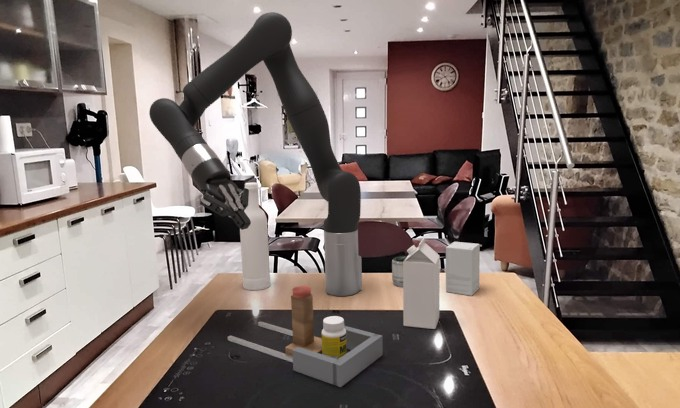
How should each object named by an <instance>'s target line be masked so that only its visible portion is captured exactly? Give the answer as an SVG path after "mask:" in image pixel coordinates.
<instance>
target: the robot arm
mask: <svg viewBox="0 0 680 408" xmlns="http://www.w3.org/2000/svg"><path fill="white" fill-rule="evenodd" d="M292 36H293V30H292V25H291V23H290V21H289V19H288V18H287V17H285V16H284V15H283V14H281V13H278V12H271V11H270V12H266V13H263V14H261V15H260V16H259V17H258V18H257V19H256V20H255V22H254V24H253V26H251V28H250V29H249V31H248V32H247V33H246V34H244V36H243V37H242V38H241V39H240V40H239V41H238V42H237V43H235V45H234V46H233V47H232V48H230V49H229V50H227V52H225V53H224V54H223V55H222V56H221V57H219V58H218V59H216V61H214V62H212V63H211V64H210V65H208V66H207V67H206V68H205V69H203V70H202V71H200V72H199V73H198V74H197V75H196V76H195V77H194V78H192V79H191V80H190V81H189V82H188V83H186V84H185V85H184V87H183V88H182V93H183V96H184V99H183V100H182V102H180V105H179V104H178V103H177V102H176V101H174V100H172V99H170V98H166V97H163V98H162V97H161V98H158V99H156V100H155V101H153V102H152V103H151V104H150V107H149V113H148V114H149V118H150V120H151V122H152V124H153V126H154V128H156V130H157V131H158V132H159V133H160V134H161V135H162V137H163V138H164V139H165V140H166V141H167V142H168V143H169V144H170V146H171V147H172V148H173V150H174V152H175V154H176V155H177V157H178V159H180V162H181V163H182V165H183V166H184V168H185V170H186V172H187V174H188V175H189V176H190V177H191V179H192V181H193V183H195V186H196V187H197V188H198V189H199V191H200V192H201V193H202V194H203V197H202V199H200V202H199V204H200V205H201V206H202V207H205V208H206V209H208V210H210V211H212V212H213V213H215V214H217V215H219V216H221V217H223V218H224V217H227V216H228V218H231V219H232V220H233V222H234V223H235V225H236V227H238V228H239V230H240V229H241V230H243V229H247V228H248V227H249V226H250V224H251V221H250V219H249V218H248V216H247V215H246V213H245V212H244V210H245V209H246V207H247V206H248V200H249V190H248V189H247V188H245V187H244V189H242V188H239V187H238V186H237V184H236V183H234V181H232V179H231V173H230V171H228V168H227V167H226V166H225V165H224V163H223V162H222V160H221V159H220V157H219V156H218V155H217V153H216V152H215V151H214V150H213V149H212V148H211V147H210V146H209V144H208V143H207V141H206V140H205V138H204V137H203V136H202V135H201V134H200V132H198V131H197V130H196V128H194V127H195V125H196V124H197V123H198V122H199V120H200V118H201V117H202V115H203V114H204V113H205V111H206V110H207V109H208V108H209V107H210V106H211V105H212V104H214V103H215V102H216V101H217V100H218V99H220V98H221V97H222V96H224V94H226V93H228V91H229V90H230V89H231V88H232V87H233V86H235V84H236V83H238V81H239V80H241V79H242V77H244V76H245V74H247V73H248V72H250V70H252V69H253V68H254V67H255V66H256V65H258V64H260V63H261V62H262V61H263V63H264V65H265V68H267V70H268V72H269V74H270V76H271V79H272V81H273V82H274V87H275V88H276V91H277V95H278V98H279V99H280V102H281V105H282V108H283V111H284V113H285V115H286V117H287V120H288V121H289V123H290V126H291V128H292V131H293V132H294V134H295V136H296V139H297V140H298V141H297V142H299V144H300V147H301V149H302V151H303V153H304V154H305V156H306V159H307V160H308V163H309V165H310V168H311V170H312V174H313V178H314V180H315V183H316V187H317V189H318V191H319V194H320V196H321V197H322V198H323V200H325V201H326V202H327V211H328V212H327V216H326V218H325V219H324V220H323V242H324V245H323V246H324V271H325V272H324V273H325V276H324V277H325V292H326V293H327V294H328V295H331V296H337V297H345V296H347V297H348V296H352V295H356V294H357V293H359V292H360V291H362V290H363V275H362V274H363V272H362V263H363V262H362V256H361V255H359V230H358V229H359V222H360V218H361V207H362V206H361V205H362V203H361V202H362V201H361V200H362V199H361V197H362V193H361V191H362V189H361V183H360V181H359V179H358V177H357V176H356V175H355V174H353V173H351V172H349V171H346V170H343V169H342V167H341V166H340V164H339V161H338V160H337V158H336V156H335V153H334V151H333V148H332V142H331V141H332V140H331V134H330V133H331V132H330V127H329V121H328V118H327V115H326V113H325V110H324V109H323V106H322V104H321V101H320V99H319V97H318V95H317V93H316V92H315V90H314V89H313V87H312V85H311V83H310V82H309V81H308V79H306V77H305V76H304V74H303V72H302V71H301V69H300V68H299V65H298V63H297V61H296V58H295V56H294V53H293V50H292V47H291V44H290V43H291V41H292ZM218 207H219V208H218Z"/></svg>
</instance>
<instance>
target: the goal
mask: <svg viewBox="0 0 680 408" xmlns="http://www.w3.org/2000/svg"><path fill="white" fill-rule="evenodd" d="M344 328H345V330H346V349H347V350H350V351H347V354H345V355H344V356H342V357H341V358H339V359H335V358H332V357H329V356H325V355H322V354H319V353H316V352H313V351H310V350H307V349H303V348H300V347H297V348H295V349H294V350H292V351H293V363H292V366H293V367H292V371H294V372H296V373H299V374H301V375H305V376H307V377H309V378H313V379H316V380H319V381H321V382H324V383H328V384H331V385H333V386H336V387H339V388H342V387H344V385H346V384H347V383H348V382H349V381H351V380H352V379H354V378H355V377H356V376H357V375H359V374H360V373H362V371H364V370H365V369H366V368H367V367H369V366H371V365H372V364H373V363H374V362H376V361H377V360H378V359H379V358H381V357H382V356H383V354H384V352H383V351H384V350H383V347H384V345H383V335H382V334H377V333H373V332H370V331H366V330H363V329H359V328H354V327H351V326H347V325H344Z"/></svg>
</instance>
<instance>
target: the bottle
mask: <svg viewBox="0 0 680 408" xmlns="http://www.w3.org/2000/svg"><path fill="white" fill-rule="evenodd" d="M244 188H247V189H248V190H249V200H248V206H247V207H246V209H245V210H244V212H245V213H246V215H247V216H248V218H249V219H250V221H251V224H250V226H249V227H248V228H247V229H243V230H241V229H240V228H239V236H240V237H239V238H240V253H241V268H242V269H241V270H242V276H241V277H242V279H241V280H242V286H243V288H244V289H245V290H247V291H260V290H265V289H267V288H269V287H270V286H271V274H270V272H271V271H270V268H271V267H270V255H269V254H270V251H269V249H270V248H269V232H268V231H269V230H268V218H267V215H266V213H265V211H264V210H263V209H262V208H261V207H260V200H259V199H260V198H259V185H258V182H253V181H252V182H246V183H244Z"/></svg>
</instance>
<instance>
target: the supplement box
mask: <svg viewBox="0 0 680 408" xmlns="http://www.w3.org/2000/svg"><path fill="white" fill-rule="evenodd" d="M480 251H481V250H480V243H473V242H462V241H461V242H460V241H453V242H451V243H450V244H449V245H447V246H446V247H445V292H446V293H452V294H458V295H464V296H471V297H472V296H473V295H475V293H476V292H477V291H478V290H479V289H480V264H481V263H480Z"/></svg>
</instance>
